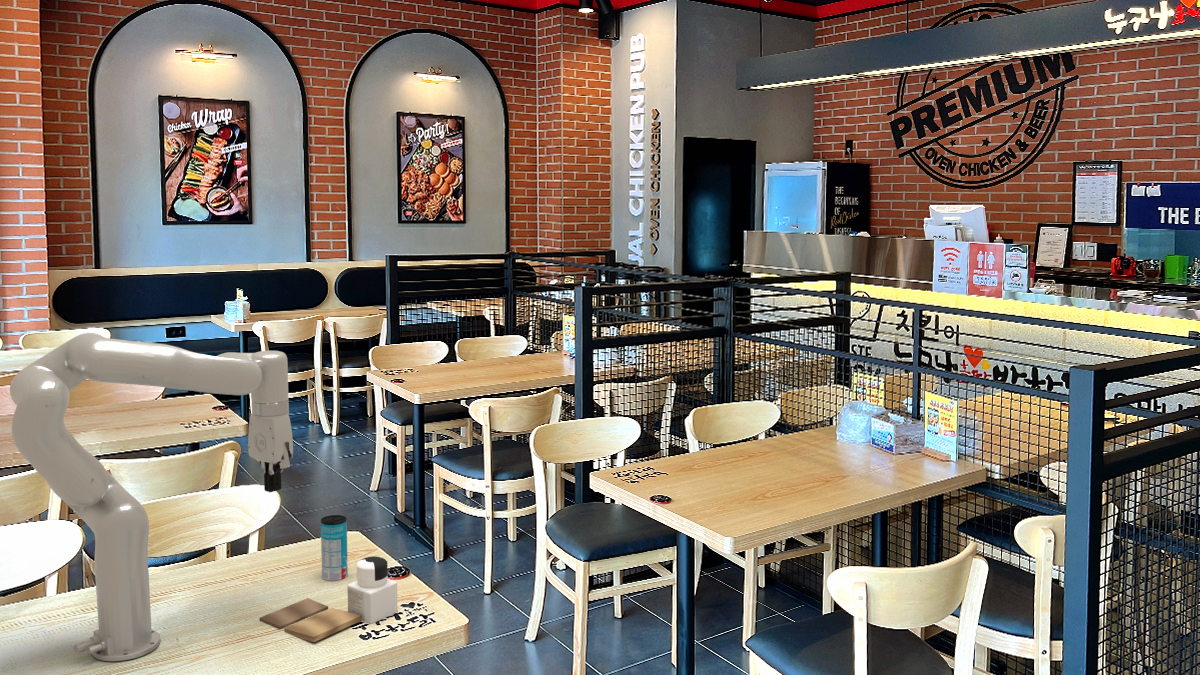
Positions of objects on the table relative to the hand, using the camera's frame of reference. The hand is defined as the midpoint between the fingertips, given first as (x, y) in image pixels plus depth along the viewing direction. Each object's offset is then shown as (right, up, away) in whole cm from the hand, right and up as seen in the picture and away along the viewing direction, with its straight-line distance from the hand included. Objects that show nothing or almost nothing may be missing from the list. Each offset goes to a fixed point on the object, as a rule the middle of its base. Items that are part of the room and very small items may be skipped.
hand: (273, 490), depth 211 cm
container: (+22, -28, +1) cm, 35 cm away
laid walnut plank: (+10, -28, -4) cm, 30 cm away
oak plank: (+13, -28, -6) cm, 31 cm away
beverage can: (+8, -25, +20) cm, 33 cm away
